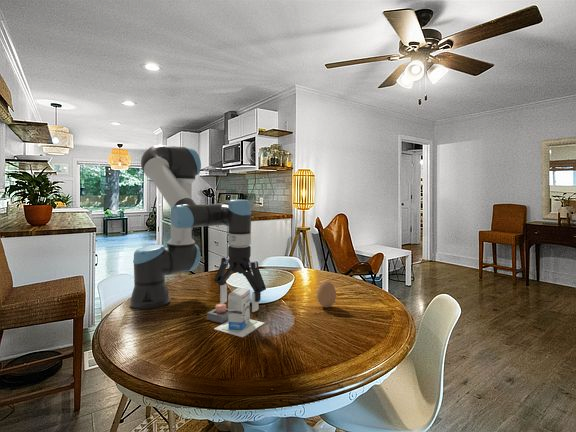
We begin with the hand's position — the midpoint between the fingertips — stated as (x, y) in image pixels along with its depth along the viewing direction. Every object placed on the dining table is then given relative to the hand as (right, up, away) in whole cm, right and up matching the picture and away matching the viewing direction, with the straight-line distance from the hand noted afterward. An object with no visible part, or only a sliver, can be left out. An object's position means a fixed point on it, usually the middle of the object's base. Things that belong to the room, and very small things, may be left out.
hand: (238, 306), depth 113 cm
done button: (-8, -4, +7) cm, 11 cm away
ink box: (0, -7, 0) cm, 7 cm away
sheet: (0, -7, 0) cm, 7 cm away
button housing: (-8, -6, +7) cm, 12 cm away
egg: (+32, -6, +19) cm, 38 cm away
